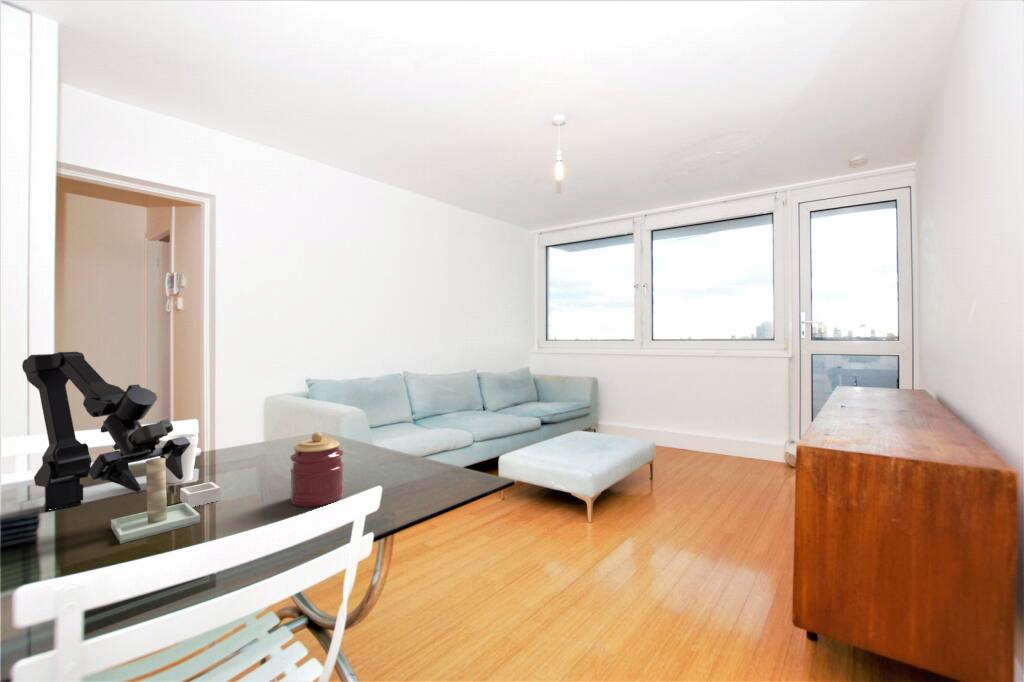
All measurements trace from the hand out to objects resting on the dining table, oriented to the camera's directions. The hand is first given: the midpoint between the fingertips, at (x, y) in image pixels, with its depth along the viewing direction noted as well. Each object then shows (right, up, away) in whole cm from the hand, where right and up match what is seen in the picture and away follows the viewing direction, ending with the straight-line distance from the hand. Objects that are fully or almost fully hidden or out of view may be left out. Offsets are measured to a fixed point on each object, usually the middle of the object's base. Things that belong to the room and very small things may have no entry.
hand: (161, 484), depth 103 cm
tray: (0, -9, -1) cm, 9 cm away
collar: (-1, -9, +14) cm, 17 cm away
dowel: (-1, -8, +1) cm, 9 cm away
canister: (+29, -9, +16) cm, 34 cm away
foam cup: (-19, -9, +32) cm, 38 cm away
